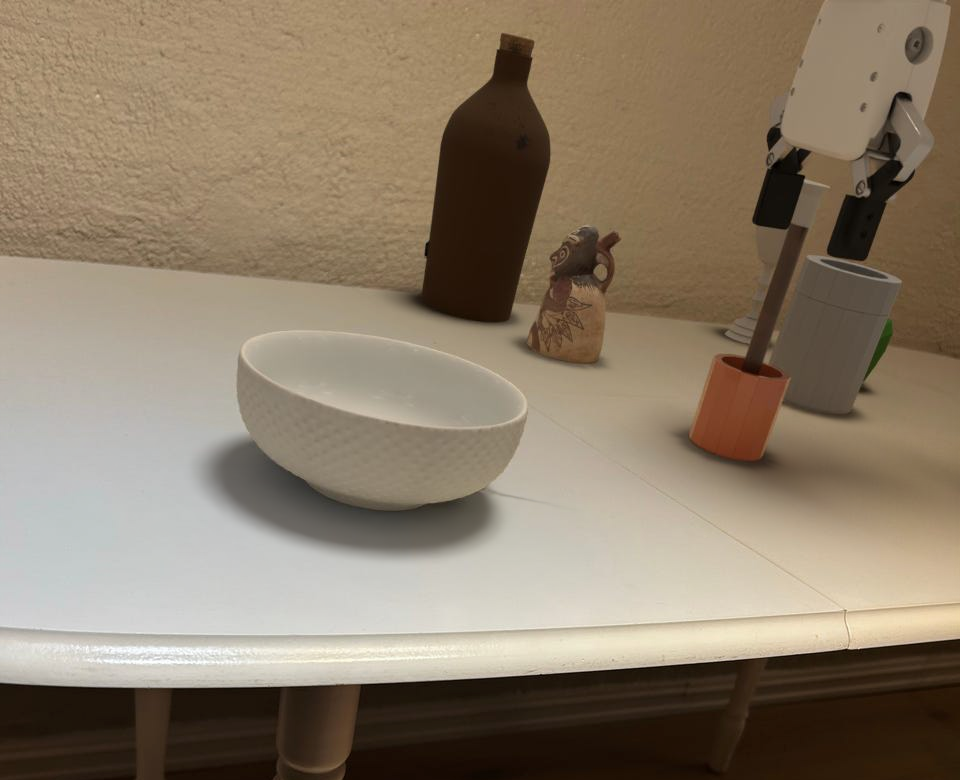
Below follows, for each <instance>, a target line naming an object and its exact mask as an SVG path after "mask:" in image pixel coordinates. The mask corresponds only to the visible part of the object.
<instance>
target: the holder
mask: <svg viewBox="0 0 960 780" xmlns="http://www.w3.org/2000/svg"><path fill="white" fill-rule="evenodd" d="M745 357H746V355H739V354H734V353H733V354H732V353H717V354H715V355H713V356H712V360H711V363H710V366H709V370H708V373H707V376H706V378H705V383H704V385H703V388H702V392H701V395H700V398H699V401H698V404H697V406H696V410H695V413H694V416H693V419H692V422H691V425H690V429H689V432H688V438H689V440H690V441H691V442H692V443H693V444H694V445H696V447H699V448H700V449H702V450H704V451H706V452H709V453H711V454H714V455H717V456H720V457H723V458H726V459H731V460H736V461H745V462H755V461H759V460H760V459H762V457H763V456H764V455H765V451H766V448H767V446H768V443H769V440H770V437H771V435H772V432H773V429H774V426H775V423H776V421H777V418H778V416H779V413H780V410H781V407H782V404H783V399H784V396H785V393H786V391H787V388H788V385H789V382H790V379H791V377H790V375H789V374H788V373H787V372H786V371H784V370H782V369H780V368H778V367H776V366H774V365H771V364H768V363H769V362H766V361H763V364H762V367H761V370H760V373H759V375H755V374H751V373H747V372H744V371H741V369H742V366H743V363H744V360H745Z"/></svg>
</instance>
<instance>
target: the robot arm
mask: <svg viewBox="0 0 960 780" xmlns="http://www.w3.org/2000/svg"><path fill="white" fill-rule="evenodd" d="M947 1H948V0H824V1H823V3H822V5H821V8H820V10H819V12H818V15H817V17H816V20H815V22H814V24H813V26H812V29H811V30H810V31H811V32H810V34H809V37H808V39H807V41H806V44H805V46H804V47H805V48H804V49H803V53H802V55H801V58H800V61H799V64H798V66H797V69H796V71H795V75H794V78H793V81H792V84H791V88H790V89H789V90H787V91H786V92H784V93H782V94H781V95H780V96H778V97H776V98H774V99H773V100H772V102H771V103H770V106H769V120H768V121H769V122H768V123H769V124H768V128H769V129H768V132H767V134H766V145H767V151H768V152H767V154H766V156H765V159H764V165H765V167H766V168H767V169H766V171H767V172H765V175H764V177H763V178H764V179H763V181H762V185H761V188H760V192H759V195H758V199H757V201H756V205H755V208H754V212H753V215H752V218H751V222H752V224H753V225H755V226H756V225H758V226H763V227H769V228H775V229H782V230H786V229H788V228H789V225H790V223H791V221H792V218H793V215H794V211H795V208H796V205H797V202H798V199H799V196H800V193H801V190H802V186H803V183H804V179H806V175H805V174H802V173H800V172H801V171H803V169H804V168H805V167H806V166H807V165H808V164H809V163H810V161H811V160H812V159H813V158H814V157H815V156H816V155H817V154H820V155H824V156H826V157H827V156H828V157H831V158H833V159H834V158H835V159H837V160H838V159H839V160H841V161H846V162H847V161H849V163H850V170H851V171H850V172H851V180H852V189H853V194H854V195H853V194H847V193H845V196H844V198H843V200H842V203H841V206H840V209H839V212H838V215H837V218H836V221H835V224H834V226H833V230H832V232H831V235H830V238H829V241H828V244H827V247H826V254H827V255H828V256H829V257H831V258H835V259H841V260H850V261H857V262H864V261H866V260H867V258H868V256H869V254H870V251H871V248H872V246H873V243H874V239H875V237H876V235H877V233H878V229H879V227H880V224H881V221H882V218H883V214H884V212H885V210H886V207H887V204H891V203H893V202H894V201H895V200H896V199H897V196H898V193H899V191H900V190H901V189H902V188H904V187H905V186H906V185H907V184H909V182H910V181H912V179H913V178H914V176H915V173H916V169H918V168H919V166H920V165H921V164H922V162H923V161H924V160H925V158H926V157H927V156H928V155H929V153H930V152H931V150H932V149H933V148H934V145H935V136H934V135H933V133H932V132H931V130H930V128H929V127H928V126H927V124H926V122H925V119H926V114H927V113H928V108H929V105H930V102H931V98H932V95H933V92H934V88H935V85H936V82H937V78H938V74H939V70H940V66H941V64H942V63H941V62H942V58H943V54H944V50H945V45H946V41H947V40H946V39H947V35H948V31H949V24H950V18H951V9H952V7H951V5H948V4H946V2H947ZM872 169H873V170H875V172H874V173H872Z"/></svg>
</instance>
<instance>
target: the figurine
mask: <svg viewBox="0 0 960 780" xmlns="http://www.w3.org/2000/svg"><path fill="white" fill-rule="evenodd" d="M621 240H622V238H621V236H620V233H619V231H618V230H613V231H611V232H610V233H608V234H606V235H605V236H603V237H602V238H600V234H599V230H598V228H597V226H595V225H593V224H584V225H581V226H579V227H577V228H576V229H574V230H573V231H571V232H570V233H568V234H567V235H566V236H565V237H564V238H563V240H562V242H561V244H560V247H559V248H558V249H556V251H554V252H553V253H552V254H551V255H550V256H549V260H550V263H551V269H550V272H549V276H548V280H549V283H550V285H549V287H548V289H547V290H546V292H545V294H544V296H543V299H542V301H541V304H540V307H539V310H538V312H537V314H536V317H535V319H534V321H533V323H532V325H531V326H530V329H529V332H528V336H527V340H526V345H527V346H528V347H529V348H530V350H531V351H533V352H535V353H536V354H540V355H542V356H545V357H548V358H551V359H555V360H558V361H563V362H568V363H575V364H592V363H596V362H597V361H598V360H599V358H600V355H601V352H602V349H603V343H604V338H605V337H604V336H605V329H606V314H607V313H606V311H607V306H606V305H607V302H606V301H607V299H606V292H607V290H608V288H609V286H610V284H611V283H612V282H613V278H614V275H615V269H616V268H615V267H616V266H615V265H616V264H615V258H614V256H613V254H612V252H611V249H612V248H614V246H616V245H617V244H618V243H619V242H621ZM599 265H602V266H604V267H605V268H606V277H605V279H603V280H601V279H600V278H599V277H598V276H597V275H596V274H595V273H594V272H595V269H596V268H597V266H599Z"/></svg>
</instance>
